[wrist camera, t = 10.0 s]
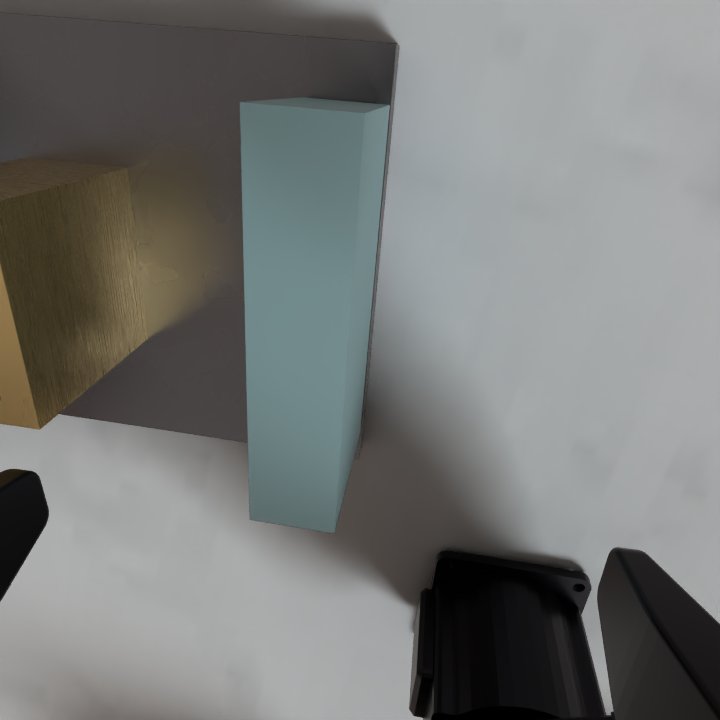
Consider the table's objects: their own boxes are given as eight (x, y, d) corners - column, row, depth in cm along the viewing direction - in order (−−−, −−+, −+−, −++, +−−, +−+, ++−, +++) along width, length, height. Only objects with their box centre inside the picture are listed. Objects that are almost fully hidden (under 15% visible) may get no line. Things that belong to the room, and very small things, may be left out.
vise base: (399, 45, 16) (371, 22, 10) (362, 444, 22) (331, 570, 16) (-220, -3, 18) (-547, -46, 12) (-89, 377, 24) (-259, 469, 18)
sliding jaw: (389, 104, 15) (364, 113, 11) (360, 431, 20) (334, 533, 16) (302, 96, 15) (240, 102, 11) (294, 421, 20) (249, 519, 16)
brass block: (127, 168, 17) (-15, 204, 12) (147, 338, 20) (39, 429, 15) (25, 157, 18) (-157, 188, 12) (58, 327, 20) (-78, 411, 15)
